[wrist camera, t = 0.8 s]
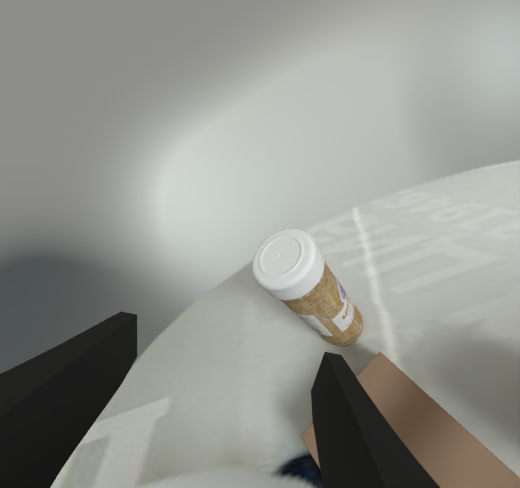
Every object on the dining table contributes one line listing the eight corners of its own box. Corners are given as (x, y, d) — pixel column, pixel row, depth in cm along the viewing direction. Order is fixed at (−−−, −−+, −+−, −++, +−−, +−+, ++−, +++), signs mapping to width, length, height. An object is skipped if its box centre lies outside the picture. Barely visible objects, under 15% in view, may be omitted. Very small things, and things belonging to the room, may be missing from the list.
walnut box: (518, 481, 14) (531, 488, 12) (416, 597, 14) (412, 624, 12) (385, 359, 21) (379, 351, 19) (314, 436, 21) (300, 436, 19)
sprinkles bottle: (374, 331, 22) (329, 258, 13) (332, 355, 23) (261, 302, 14) (346, 293, 26) (295, 214, 17) (310, 315, 26) (241, 251, 17)
